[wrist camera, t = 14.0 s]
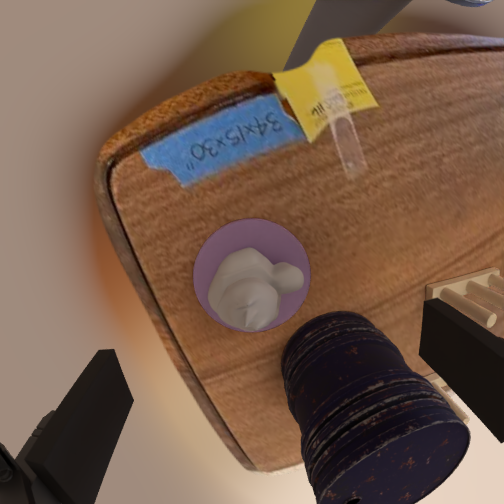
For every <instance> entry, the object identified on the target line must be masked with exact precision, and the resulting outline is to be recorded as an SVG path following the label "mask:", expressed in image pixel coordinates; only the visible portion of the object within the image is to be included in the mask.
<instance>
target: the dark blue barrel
mask: <svg viewBox="0 0 504 504" xmlns="http://www.w3.org/2000/svg"><path fill="white" fill-rule="evenodd" d="M281 371H282V375H283V379H284V388H285V392H286V396H287V400H288V406H289V410H290V411H291V413H292V415H293V417H294V419H295V420H296V422H297V423H298V424H299V427H300V430H301V434H302V436H301V455H302V459H303V460H304V462H305V468H306V472H307V476H308V480H309V483H310V484H311V486H312V487H313V491H314V495H315V496H316V502H317V504H415V503H417V502H418V501H420V500H421V499H423V498H424V497H426V496H427V495H429V494H430V493H431V492H432V491H434V490H435V489H436V488H438V487H439V486H440V485H441V484H442V483H443V482H444V481H445V480H446V479H447V478H448V477H449V476H450V475H451V474H452V473H453V472H454V471H455V469H456V468H457V467H458V466H459V464H460V463H461V461H462V460H463V458H464V456H465V454H466V452H467V450H468V447H469V444H470V439H471V436H470V431H469V429H468V427H467V426H466V425H465V423H464V422H463V421H462V420H461V419H460V418H459V417H458V416H457V415H456V413H455V412H454V411H453V410H452V409H451V408H450V405H449V403H448V402H447V400H446V399H445V398H444V397H443V396H442V395H441V394H440V393H439V392H438V391H437V390H436V389H435V388H434V387H433V385H432V384H431V383H430V382H429V381H428V380H427V379H426V378H424V377H422V376H421V375H420V374H418V373H416V372H413V371H412V370H411V369H410V368H409V367H408V366H407V364H406V363H405V361H404V358H403V356H402V354H401V353H400V351H399V349H398V348H397V347H396V346H395V345H394V344H393V343H392V342H391V341H390V340H389V339H388V338H387V337H386V335H384V334H383V333H382V332H381V331H380V330H378V329H377V328H375V326H374V325H373V324H372V323H371V322H370V321H369V320H368V319H366V318H365V317H363V316H361V315H359V314H356V313H352V312H341V311H338V312H331V313H327V314H324V315H321V316H318V317H316V318H314V319H312V320H310V321H309V322H307V323H306V324H304V325H303V326H302V327H301V328H299V329H298V330H297V331H296V332H295V333H294V335H293V336H292V337H291V339H290V340H289V341H288V343H287V345H286V347H285V349H284V352H283V355H282V360H281Z"/></svg>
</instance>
